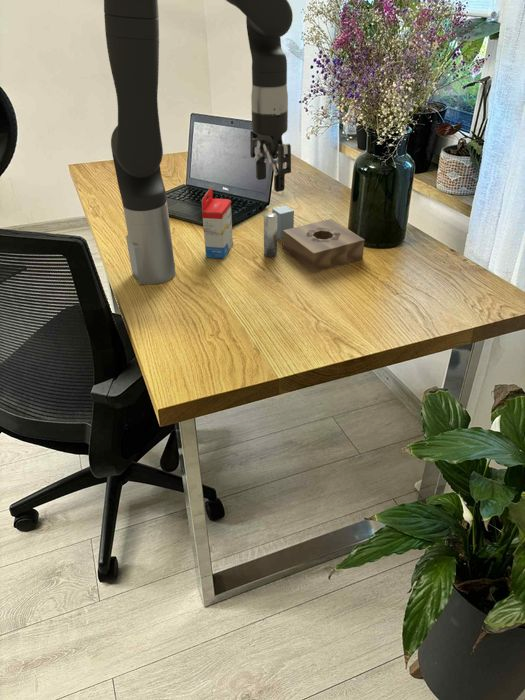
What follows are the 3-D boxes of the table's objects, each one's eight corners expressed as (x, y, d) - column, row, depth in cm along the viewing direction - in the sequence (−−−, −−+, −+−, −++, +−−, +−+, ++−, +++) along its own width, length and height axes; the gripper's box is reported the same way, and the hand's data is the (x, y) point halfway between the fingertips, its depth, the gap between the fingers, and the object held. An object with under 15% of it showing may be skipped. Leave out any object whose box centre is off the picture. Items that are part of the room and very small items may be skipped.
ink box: (225, 259, 131) (221, 200, 122) (205, 257, 132) (200, 199, 123) (233, 243, 137) (230, 187, 129) (214, 242, 138) (210, 185, 129)
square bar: (279, 239, 139) (280, 213, 135) (272, 234, 142) (272, 208, 138) (293, 236, 140) (293, 210, 136) (285, 230, 143) (286, 205, 139)
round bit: (267, 258, 131) (267, 219, 125) (261, 253, 133) (261, 214, 127) (279, 255, 132) (279, 216, 126) (273, 250, 134) (273, 211, 128)
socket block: (312, 272, 125) (313, 253, 122) (282, 249, 135) (282, 230, 132) (362, 259, 130) (364, 239, 127) (330, 236, 140) (331, 218, 137)
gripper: (238, 103, 116) (241, 178, 126) (270, 118, 106) (270, 198, 116) (269, 99, 119) (269, 172, 129) (303, 113, 109) (300, 191, 118)
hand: (270, 184), depth 122 cm, fingers open, 8 cm apart
